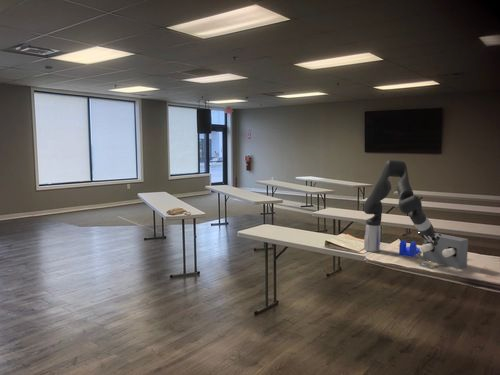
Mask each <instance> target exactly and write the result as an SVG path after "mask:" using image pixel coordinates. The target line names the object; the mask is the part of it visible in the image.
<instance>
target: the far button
mask: <svg viewBox="0 0 500 375" xmlns="http://www.w3.org/2000/svg"><path fill="white" fill-rule="evenodd" d="M423 244H424V243H423ZM423 244H422V245H421V246H420V251H421V252H422V253H423V252H427V251H430V250H434V246H433V244H432V243H429V244H424V245H423Z"/></svg>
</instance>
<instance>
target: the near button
mask: <svg viewBox="0 0 500 375" xmlns="http://www.w3.org/2000/svg"><path fill="white" fill-rule="evenodd" d="M456 251H457V249H456V248H450V249H445V250H443V251H442V255H443V256H444V257H449V256H452V255H456Z"/></svg>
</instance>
